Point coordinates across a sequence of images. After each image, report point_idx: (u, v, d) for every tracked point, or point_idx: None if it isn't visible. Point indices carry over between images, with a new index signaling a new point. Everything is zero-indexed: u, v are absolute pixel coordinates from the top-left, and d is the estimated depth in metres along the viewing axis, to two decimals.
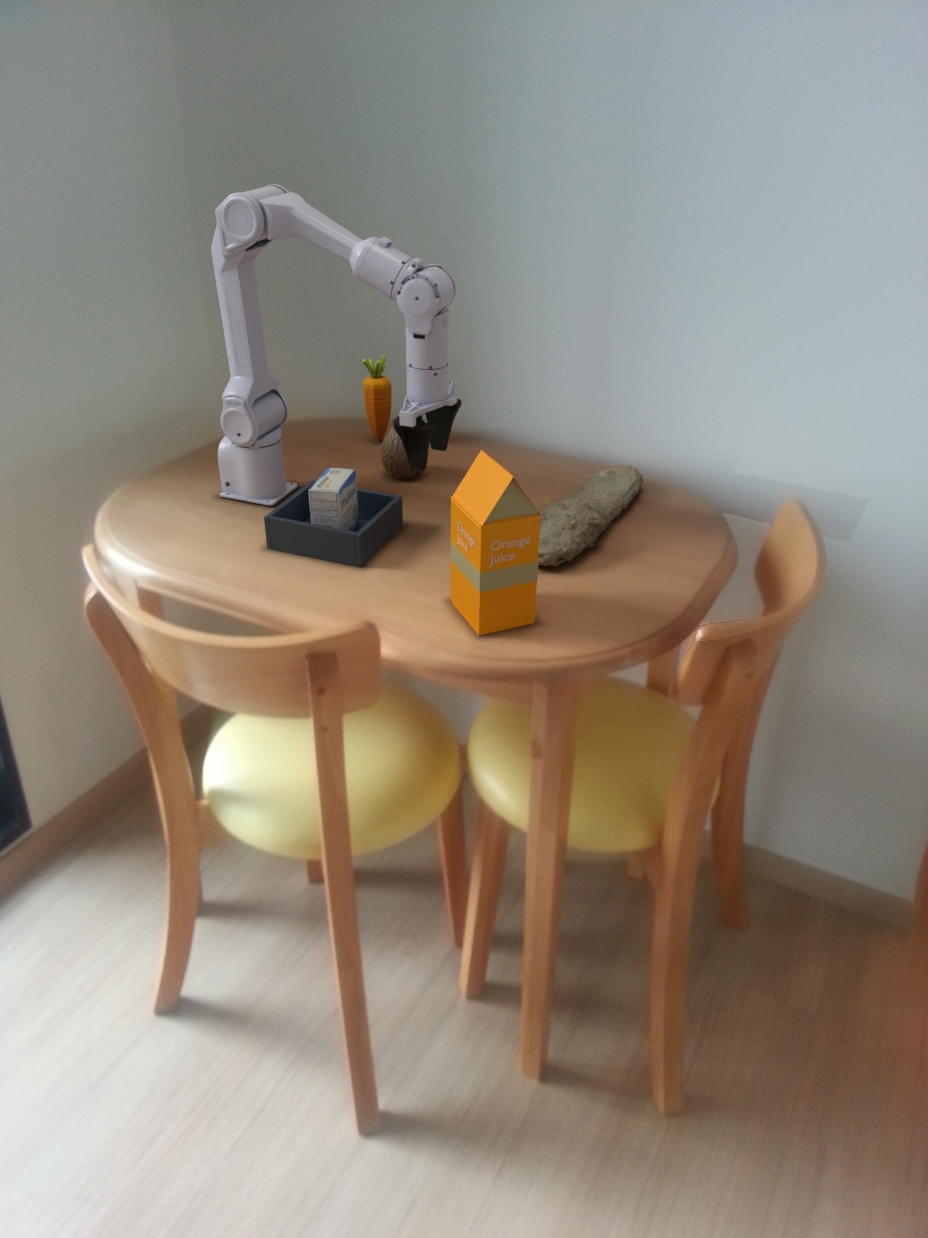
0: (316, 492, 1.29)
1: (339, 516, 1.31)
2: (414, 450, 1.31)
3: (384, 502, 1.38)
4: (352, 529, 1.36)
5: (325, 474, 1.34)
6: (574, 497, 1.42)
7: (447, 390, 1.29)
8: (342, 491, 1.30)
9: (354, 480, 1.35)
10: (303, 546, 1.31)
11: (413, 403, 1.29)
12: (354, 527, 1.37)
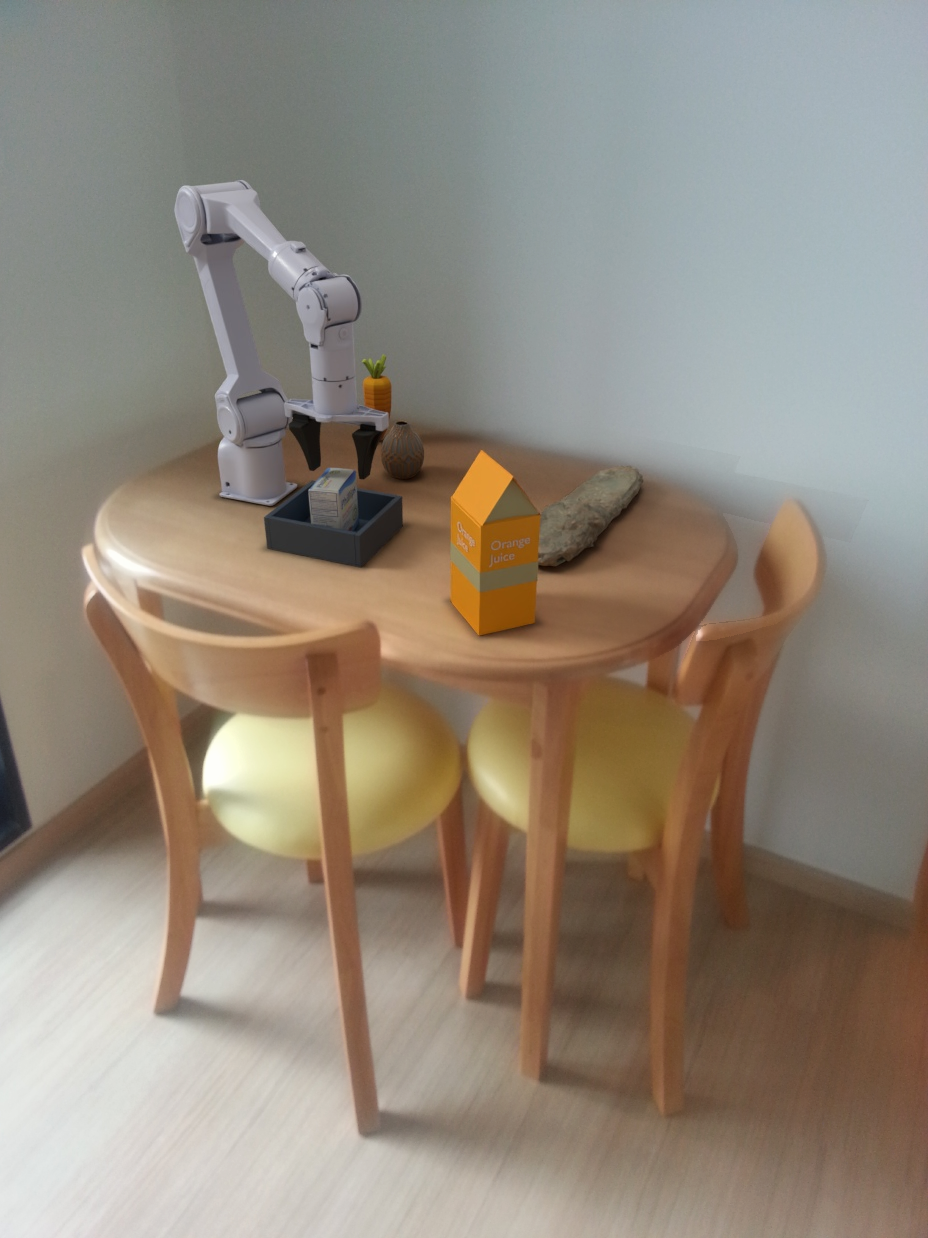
0: (316, 492, 1.29)
1: (339, 516, 1.31)
2: None
3: (384, 502, 1.38)
4: (352, 529, 1.36)
5: (325, 474, 1.34)
6: (574, 497, 1.42)
7: (325, 406, 1.24)
8: (342, 491, 1.30)
9: (354, 480, 1.35)
10: (303, 546, 1.31)
11: None
12: (354, 527, 1.37)
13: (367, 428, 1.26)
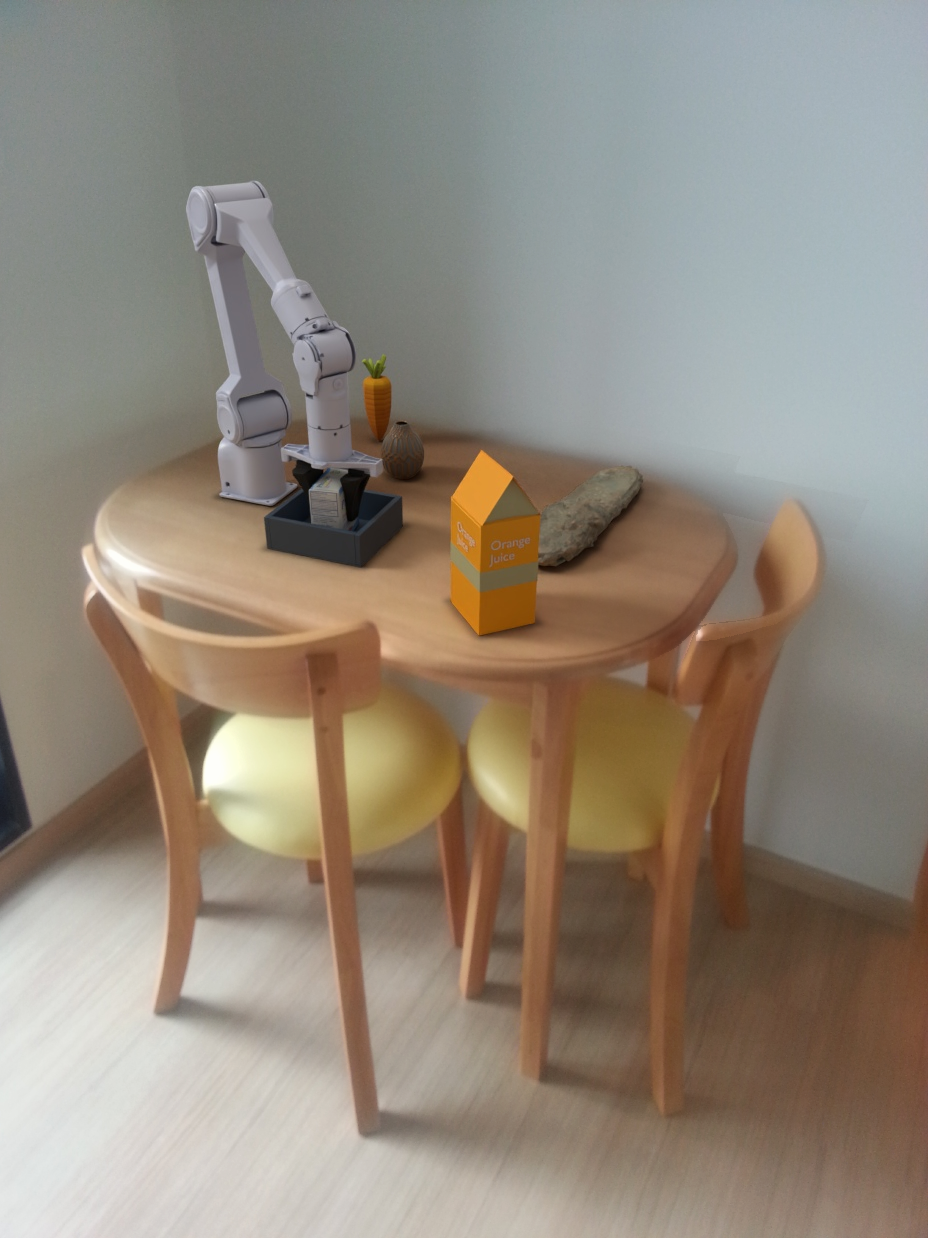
0: (316, 492, 1.29)
1: (339, 516, 1.31)
2: None
3: (384, 502, 1.38)
4: (352, 529, 1.36)
5: (325, 474, 1.34)
6: (574, 497, 1.42)
7: (321, 453, 1.28)
8: (342, 491, 1.30)
9: None
10: (303, 546, 1.31)
11: None
12: (354, 527, 1.37)
13: (355, 473, 1.29)
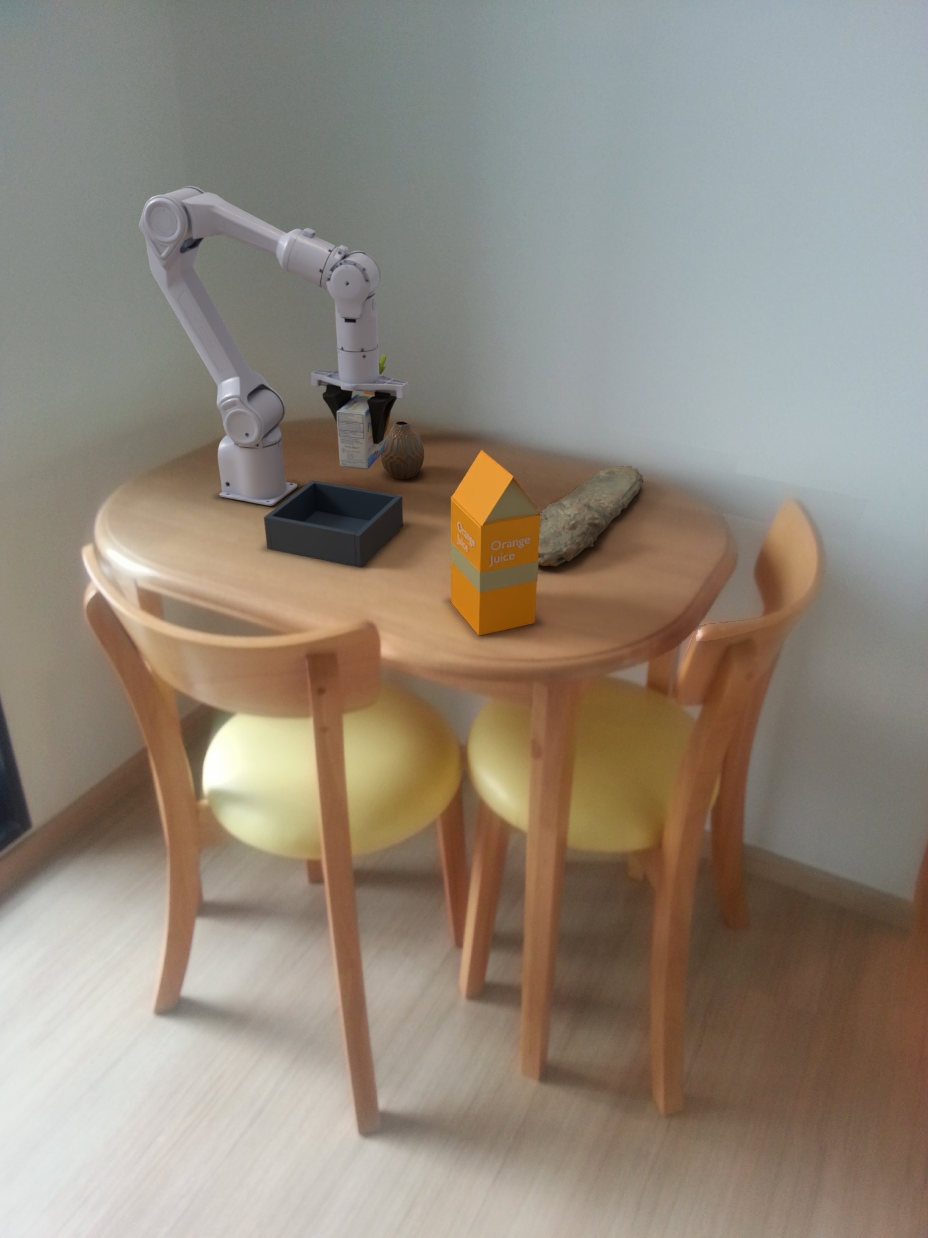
0: (343, 413, 1.35)
1: (365, 438, 1.37)
2: None
3: (384, 502, 1.38)
4: (378, 454, 1.42)
5: (354, 399, 1.40)
6: (574, 497, 1.42)
7: (350, 375, 1.34)
8: (368, 414, 1.36)
9: None
10: (303, 546, 1.31)
11: None
12: (380, 452, 1.43)
13: (381, 395, 1.35)
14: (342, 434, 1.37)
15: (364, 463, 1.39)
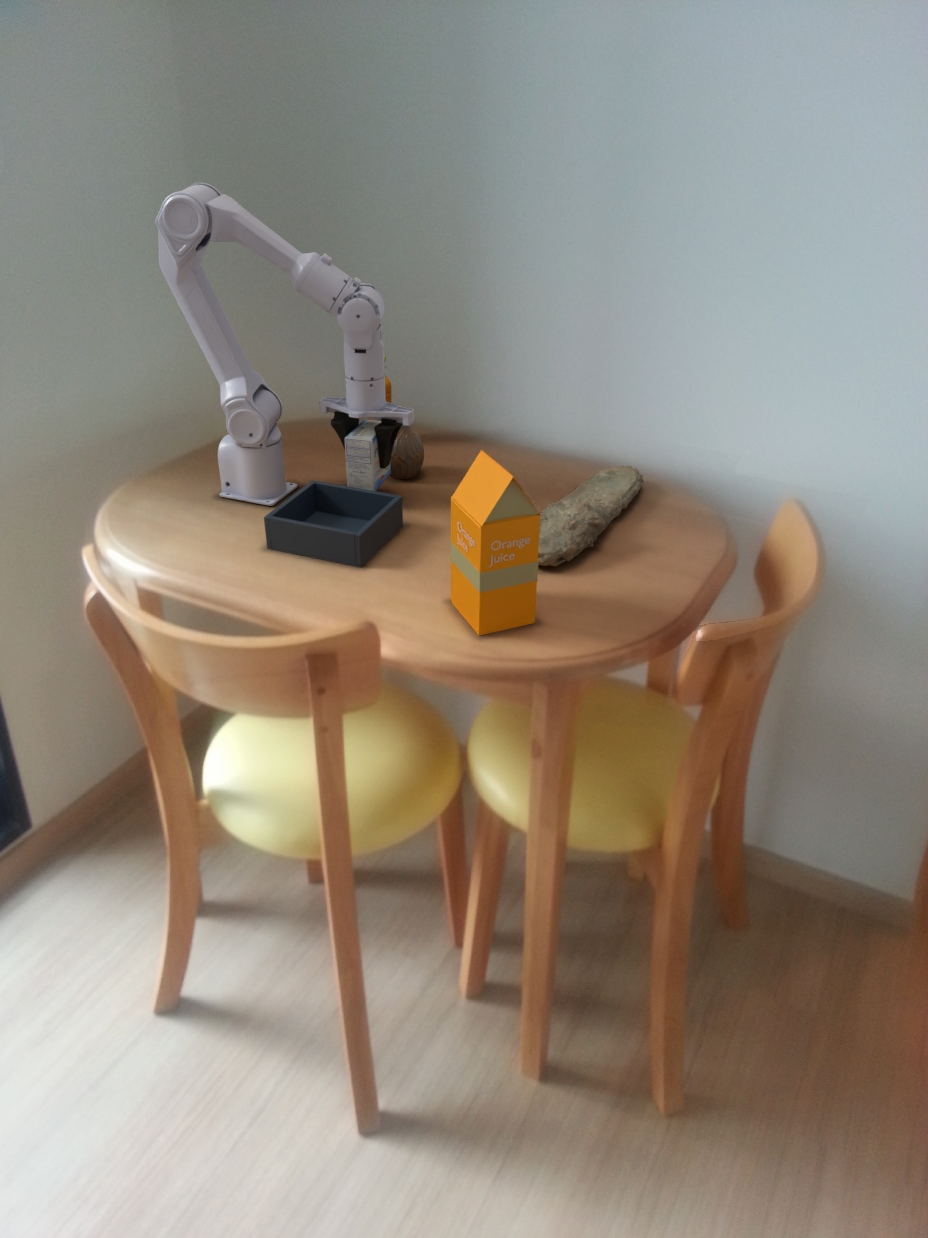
0: (351, 440, 1.40)
1: (372, 463, 1.41)
2: None
3: (384, 502, 1.38)
4: (384, 477, 1.47)
5: (361, 425, 1.44)
6: (574, 497, 1.42)
7: (357, 403, 1.38)
8: (375, 440, 1.40)
9: None
10: (303, 546, 1.31)
11: None
12: (386, 476, 1.48)
13: (388, 422, 1.40)
14: (350, 459, 1.42)
15: (371, 488, 1.43)
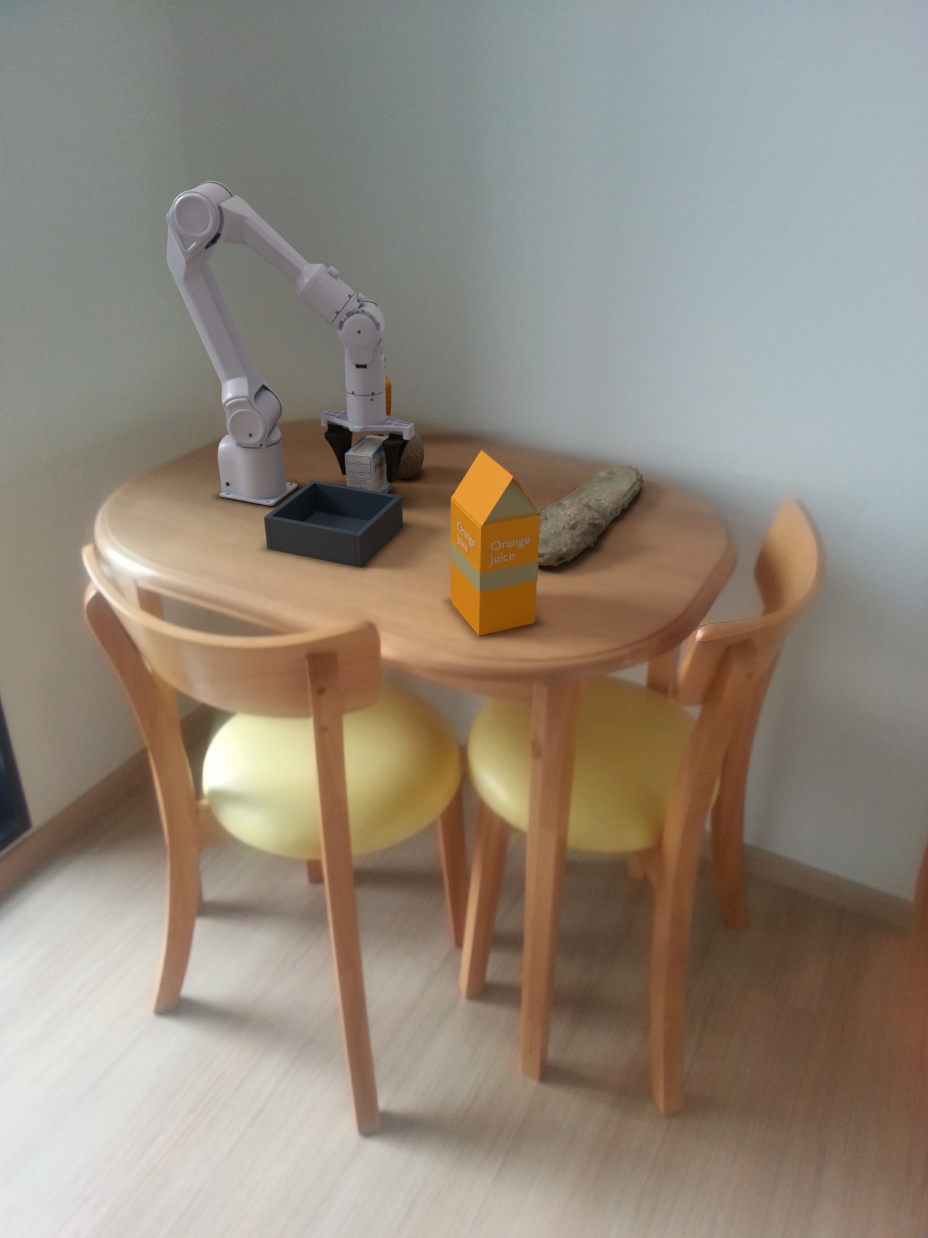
0: (351, 456, 1.41)
1: (372, 478, 1.42)
2: None
3: (384, 502, 1.38)
4: (384, 492, 1.48)
5: (361, 440, 1.45)
6: (574, 497, 1.42)
7: (358, 418, 1.39)
8: (375, 455, 1.42)
9: None
10: (303, 546, 1.31)
11: None
12: (386, 491, 1.49)
13: (395, 437, 1.41)
14: (350, 475, 1.43)
15: None
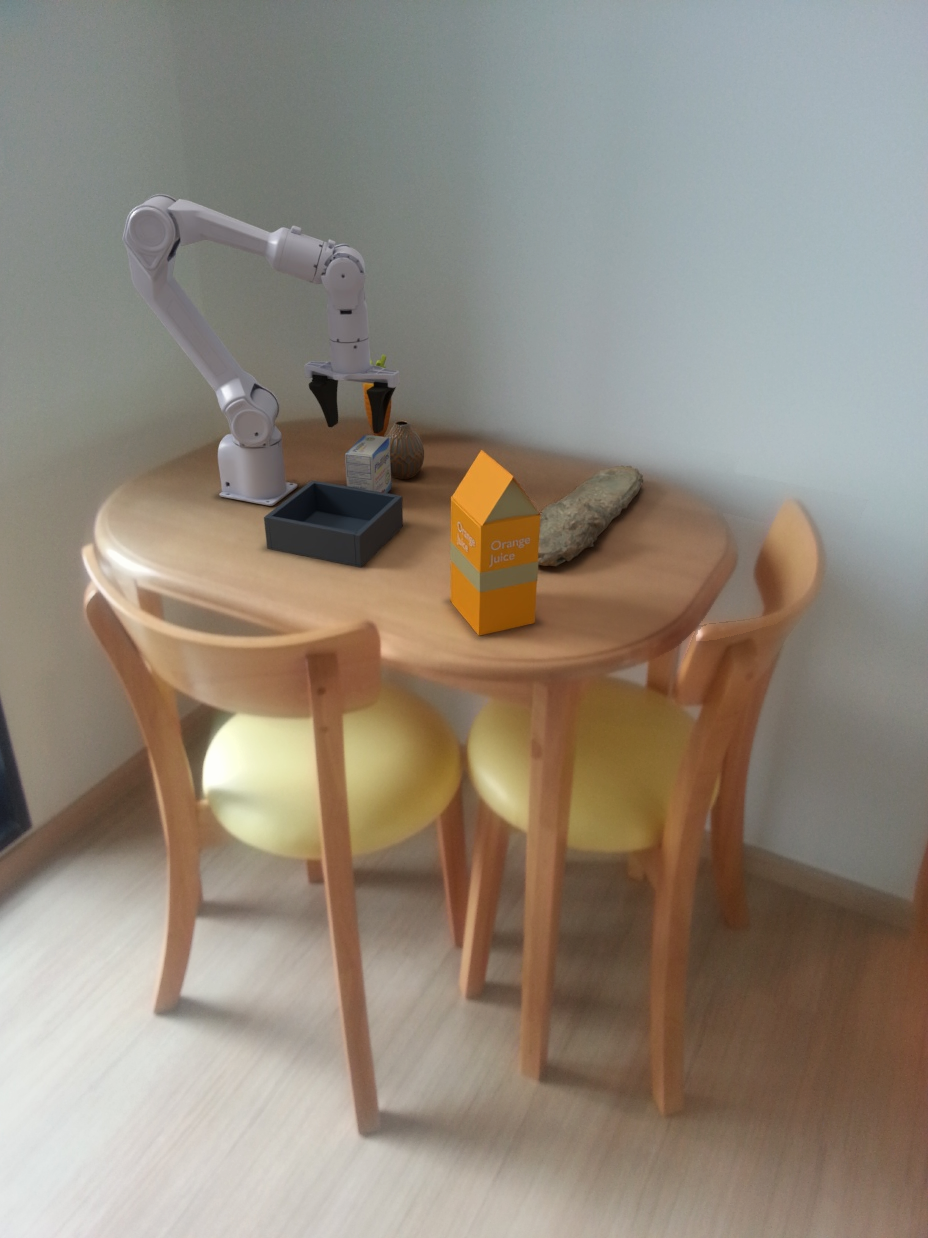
0: (351, 456, 1.41)
1: (372, 478, 1.42)
2: None
3: (384, 502, 1.38)
4: (384, 492, 1.48)
5: (361, 440, 1.45)
6: (574, 497, 1.42)
7: (342, 366, 1.37)
8: (375, 455, 1.42)
9: (387, 447, 1.46)
10: (303, 546, 1.31)
11: None
12: (386, 491, 1.49)
13: (380, 385, 1.39)
14: (350, 475, 1.43)
15: None
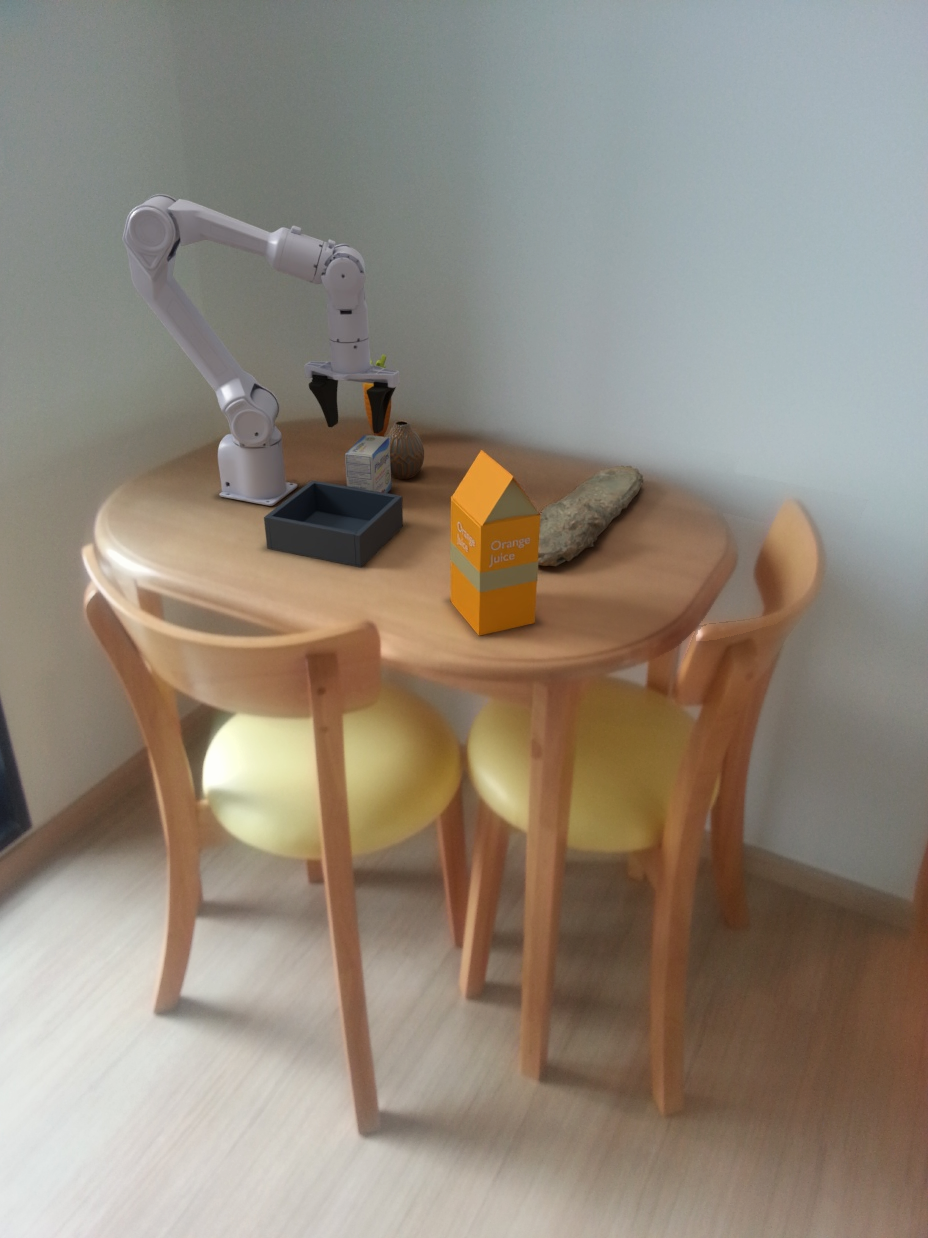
0: (351, 456, 1.41)
1: (372, 478, 1.42)
2: None
3: (384, 502, 1.38)
4: (384, 492, 1.48)
5: (361, 440, 1.45)
6: (574, 497, 1.42)
7: (342, 366, 1.37)
8: (375, 455, 1.42)
9: (387, 447, 1.46)
10: (303, 546, 1.31)
11: None
12: (386, 491, 1.49)
13: (380, 385, 1.39)
14: (350, 475, 1.43)
15: None
